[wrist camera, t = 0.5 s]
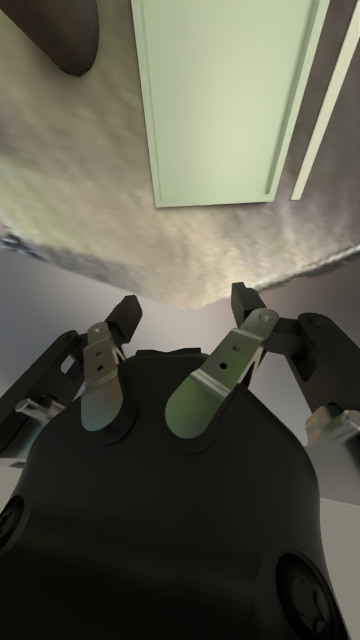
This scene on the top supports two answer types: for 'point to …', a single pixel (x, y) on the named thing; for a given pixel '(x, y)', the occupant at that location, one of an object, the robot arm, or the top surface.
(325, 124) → the strip
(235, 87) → the tray
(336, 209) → the top surface
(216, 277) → the top surface
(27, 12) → the pillar candle
